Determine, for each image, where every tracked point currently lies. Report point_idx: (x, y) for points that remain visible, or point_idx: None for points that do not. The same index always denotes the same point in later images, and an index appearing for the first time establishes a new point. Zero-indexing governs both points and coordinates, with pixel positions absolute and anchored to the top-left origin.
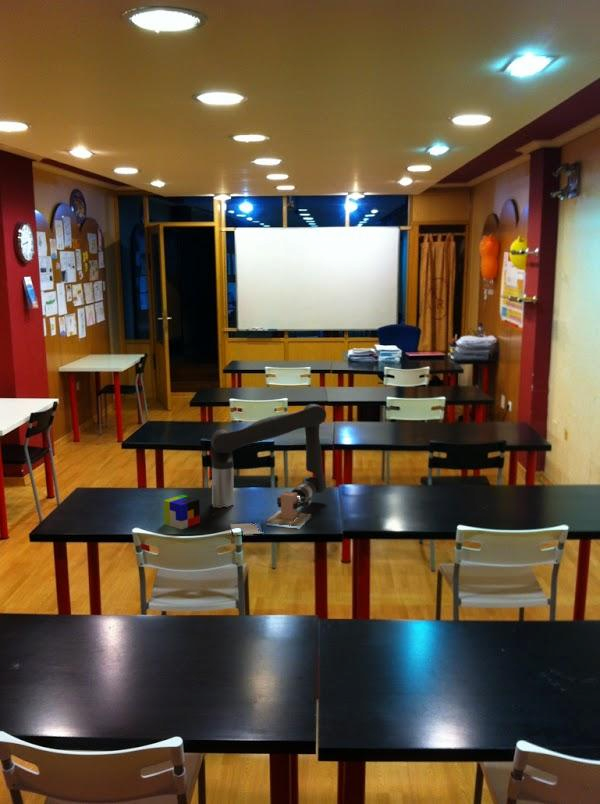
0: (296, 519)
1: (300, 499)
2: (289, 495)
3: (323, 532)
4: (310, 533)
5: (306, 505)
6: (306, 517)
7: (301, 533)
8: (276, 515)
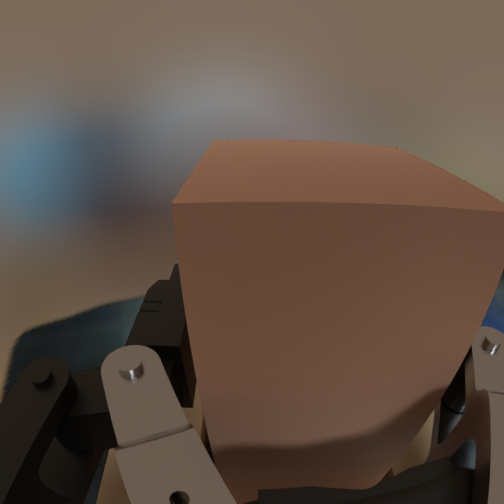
0: (196, 414)
1: (123, 443)
2: (271, 140)
3: (22, 340)
4: (87, 318)
5: (48, 448)
6: (108, 484)
7: (135, 309)
8: (429, 427)
